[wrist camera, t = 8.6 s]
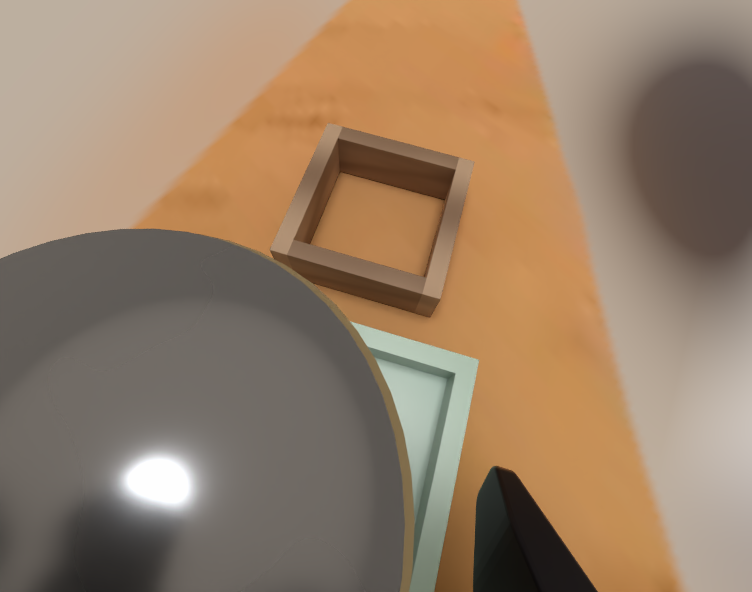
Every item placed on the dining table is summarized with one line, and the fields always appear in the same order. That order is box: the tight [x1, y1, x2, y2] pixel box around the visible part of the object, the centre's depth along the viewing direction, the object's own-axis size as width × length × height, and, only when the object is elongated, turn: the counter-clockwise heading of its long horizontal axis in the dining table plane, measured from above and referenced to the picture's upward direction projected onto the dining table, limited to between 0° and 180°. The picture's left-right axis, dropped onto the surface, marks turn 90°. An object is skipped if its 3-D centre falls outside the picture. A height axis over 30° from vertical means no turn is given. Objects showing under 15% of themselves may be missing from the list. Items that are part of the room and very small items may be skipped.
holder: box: [270, 123, 474, 317], centre depth 19 cm, size 8×8×2 cm
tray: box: [351, 322, 479, 592], centre depth 15 cm, size 11×11×2 cm
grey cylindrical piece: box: [0, 229, 415, 592], centre depth 9 cm, size 5×5×13 cm
